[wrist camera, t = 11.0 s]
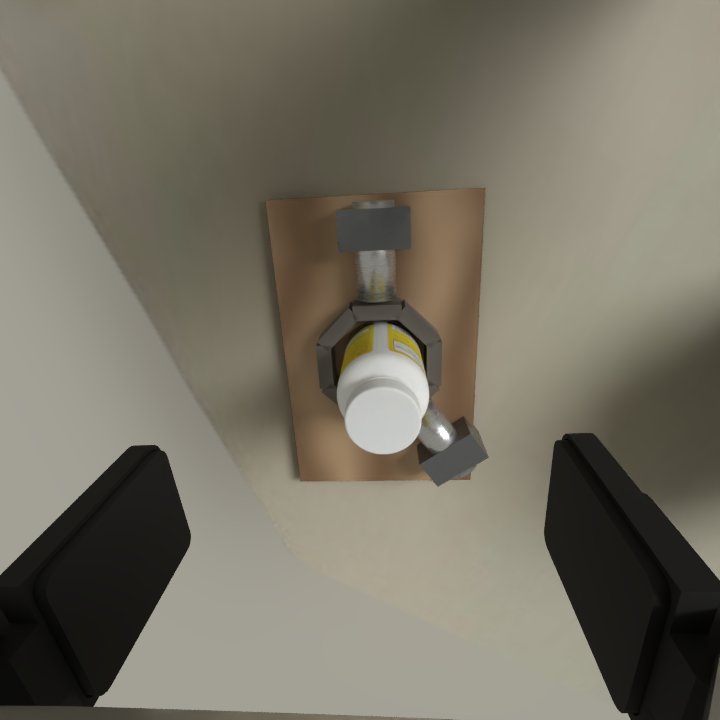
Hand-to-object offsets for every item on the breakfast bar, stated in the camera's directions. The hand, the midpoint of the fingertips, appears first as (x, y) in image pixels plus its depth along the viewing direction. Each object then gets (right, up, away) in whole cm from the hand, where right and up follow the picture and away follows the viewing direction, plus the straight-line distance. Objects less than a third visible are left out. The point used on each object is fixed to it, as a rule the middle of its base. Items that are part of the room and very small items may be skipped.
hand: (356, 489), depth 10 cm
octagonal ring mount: (+2, +4, +21) cm, 22 cm away
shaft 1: (+1, +11, +19) cm, 22 cm away
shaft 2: (+6, -2, +23) cm, 24 cm away
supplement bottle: (+2, +4, +20) cm, 21 cm away
